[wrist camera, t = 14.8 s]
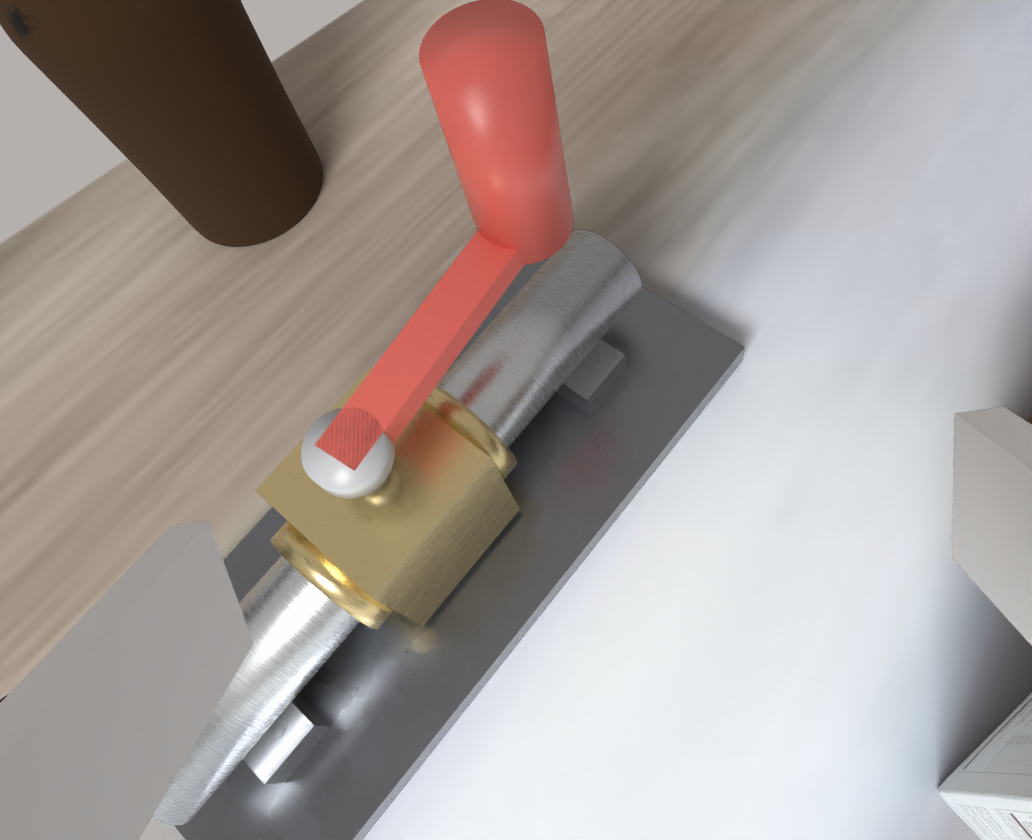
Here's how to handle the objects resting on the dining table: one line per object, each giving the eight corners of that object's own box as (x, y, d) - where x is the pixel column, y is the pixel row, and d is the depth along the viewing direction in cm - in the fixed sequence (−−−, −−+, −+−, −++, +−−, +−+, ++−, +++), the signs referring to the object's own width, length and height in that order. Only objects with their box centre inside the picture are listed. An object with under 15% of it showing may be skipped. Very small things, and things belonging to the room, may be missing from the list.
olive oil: (333, 239, 48) (43, -224, 25) (175, 271, 49) (-239, -145, 26) (332, 113, 52) (84, -377, 30) (186, 145, 53) (-159, -303, 31)
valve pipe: (284, 937, 33) (131, 1011, 23) (105, 713, 38) (-81, 699, 29) (741, 361, 40) (768, 236, 30) (536, 239, 45) (504, 100, 36)
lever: (368, 519, 28) (249, 421, 20) (290, 467, 29) (148, 356, 21) (592, 208, 32) (569, 18, 24) (513, 175, 33) (466, -15, 25)
